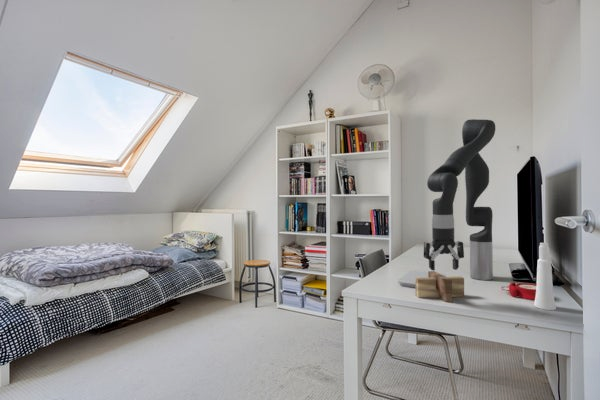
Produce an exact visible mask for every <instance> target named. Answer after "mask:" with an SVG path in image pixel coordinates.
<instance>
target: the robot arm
mask: <svg viewBox="0 0 600 400" xmlns="http://www.w3.org/2000/svg"><path fill="white" fill-rule="evenodd" d="M461 132H462V133H461V136H462V143H463V145H462V146H461V147H459V148H457V149H456V150H454V151H453V152H452V153H451V154H450V155H449V157H448V158H447V159H446V160H445V162H444V163H443V164H442V165H440V166H439V167H437V169H435V170H434V171H433V172H432V173H431V174H430V175H429V176H428V179H427V184H426V185H427V189H428V190H429V191H431V192H433V193H442V194H441V196H440V197H438V198H435V199H433V201H432V219H431V229H432V230H431V231H432V234H431V235H432V242H426V241H424V243H423V258H424V259H426V260H428V268H429V269H430V270H431V271H436V268H435V266H436V265H435V263H436V261H435V259H436V258H437V257H438V256H439V255H444V254H446V255H449V254H450V256H451V257H452V269H453V270H454V271H455V270H458V268H459V267H460V266H459V263H460V261H459V260H461V259H464V258H465V252H464V250H465V249H464V248H465V247H464V243H463V241H459V240H457V241H455V218H454V203H455V198H456V193H457V189H458V186H459V185H458V184H459V180H458V178H457V177H458V176H460V175H461V174H462V173H463V172H464V180H465V195H466V197H465V199H466V200H465V202H466V203H465V222H466V224H467V226H469V227H484V228H483V229H482V230H479V231H478V232H475V233H471V234H470V235H469V276H470V278H471V279H476V280H481V281H492V280H494V264H493V263H494V261H493V257H494V255H493V209H492V208H491V207H490V206H475V204H476V202H477V200H478V199H479V197H480V196H481V195H482V194H483V192H484V191H485V190H486V189H487V188H488V186H489V183H490V169H489V166H488V164H487V163H486V161H485V160H484V158H483V157H482V156H481V154H480V151H482V150H483V149H484V148H485V147H486V146H488V144H489V143H490V142H491V141H492V140H493V138H494V136H495V133H496V123H495V122H494V121H493V120H491V119H475V118H474V119H467V120H466V121H464V123H463V126H462V130H461ZM455 247H456V251H457V252H456V251H455V250H454V249H455ZM431 248H433V249H432V250H431ZM430 250H431V251H430Z"/></svg>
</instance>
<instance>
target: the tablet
mask: <svg viewBox="0 0 600 400" xmlns="http://www.w3.org/2000/svg"><path fill="white" fill-rule="evenodd" d="M428 271H429V270H428ZM428 271H427V270H426V271H425V270H419V269H417V270H415V269H413V270H409V271H408V272H406V273H405V274H404V275H402V276H401V277H400V278H399V279H397V283H398V284H399V286H400V287H405V288H411V287H412V289H413V288H414V289H416V287H415V278H426V277H428ZM436 272H437V271H436ZM437 273H439V274H441V275H443V276H445V277H447V275H446V273H443V272H437Z"/></svg>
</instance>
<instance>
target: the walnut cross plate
mask: <svg viewBox="0 0 600 400" xmlns="http://www.w3.org/2000/svg"><path fill="white" fill-rule="evenodd" d="M439 273H440V272H438V273H437V271H436V270H431V271H429V270H428V277H433V278H435V279H436V288H437V289H438V290H439V297H438V299H441V301H443V302H445V303H451V302H453V297H452V280H451V279H449V278H447V277H448V276H443V275H441V274H439Z"/></svg>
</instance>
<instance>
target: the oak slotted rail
mask: <svg viewBox="0 0 600 400" xmlns="http://www.w3.org/2000/svg"><path fill="white" fill-rule="evenodd" d="M446 277H447V278H449V279H451V280H452V298H453V297H454V298H455V297H465V277H463V276H461V275H460V276H446ZM415 287H416V288H415V296H416V297H417V298H418V299H420V298H423V299H424V298H439V290H438V289H437V288H436V279H435V278H433V277H426V278H415Z"/></svg>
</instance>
